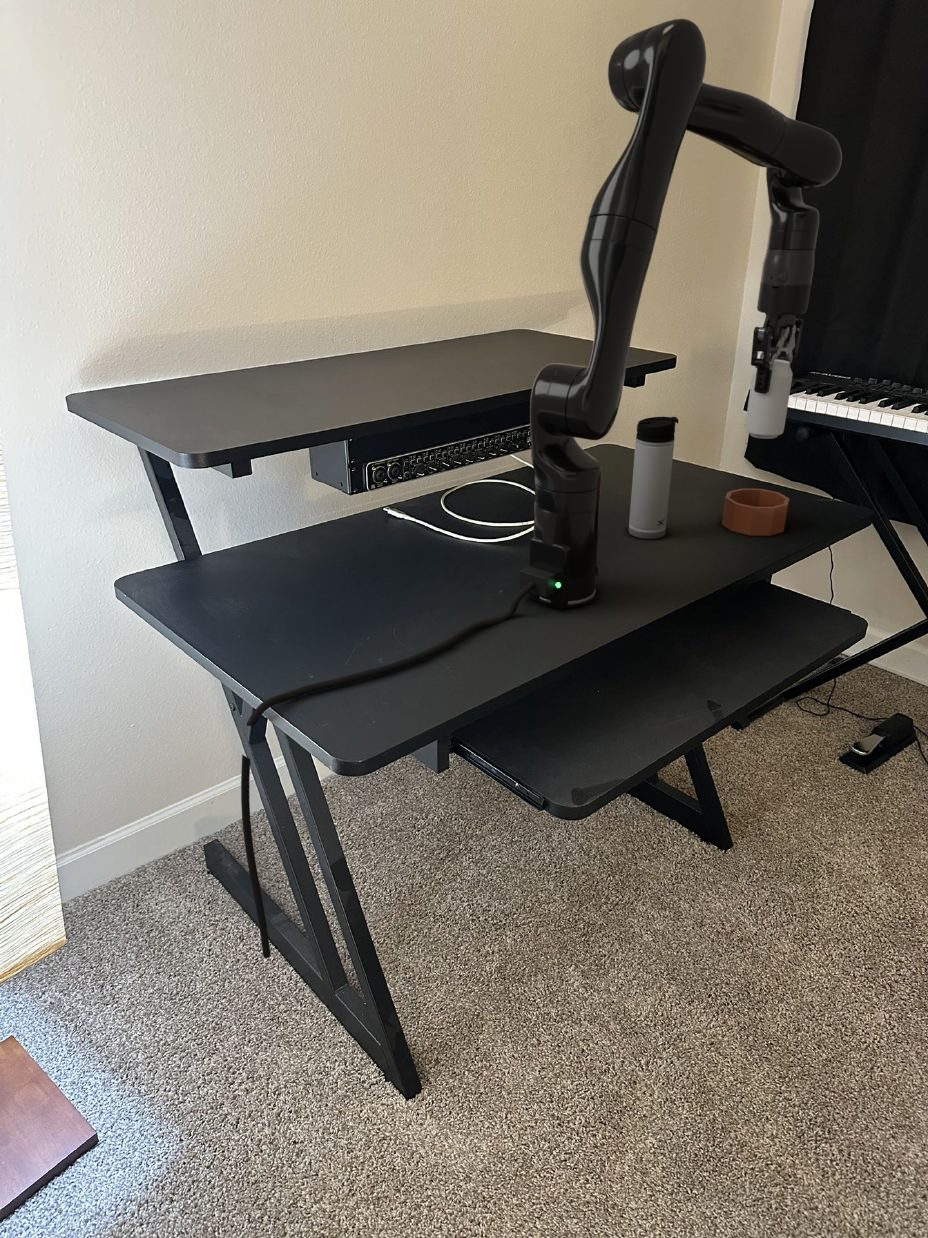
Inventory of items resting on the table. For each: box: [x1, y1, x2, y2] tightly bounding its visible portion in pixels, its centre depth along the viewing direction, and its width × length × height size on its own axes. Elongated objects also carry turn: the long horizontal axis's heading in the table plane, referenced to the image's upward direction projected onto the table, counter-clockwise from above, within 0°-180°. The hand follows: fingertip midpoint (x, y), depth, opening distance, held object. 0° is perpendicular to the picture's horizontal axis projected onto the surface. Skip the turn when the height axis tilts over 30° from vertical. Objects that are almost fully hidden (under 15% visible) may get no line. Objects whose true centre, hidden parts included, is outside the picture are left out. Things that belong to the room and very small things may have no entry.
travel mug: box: [628, 416, 679, 540], centre depth 151 cm, size 6×7×20 cm
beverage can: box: [744, 359, 793, 440], centre depth 147 cm, size 6×6×12 cm
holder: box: [721, 487, 790, 537], centre depth 157 cm, size 10×11×5 cm
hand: (770, 388), depth 146 cm, fingers closed on beverage can, 6 cm apart
